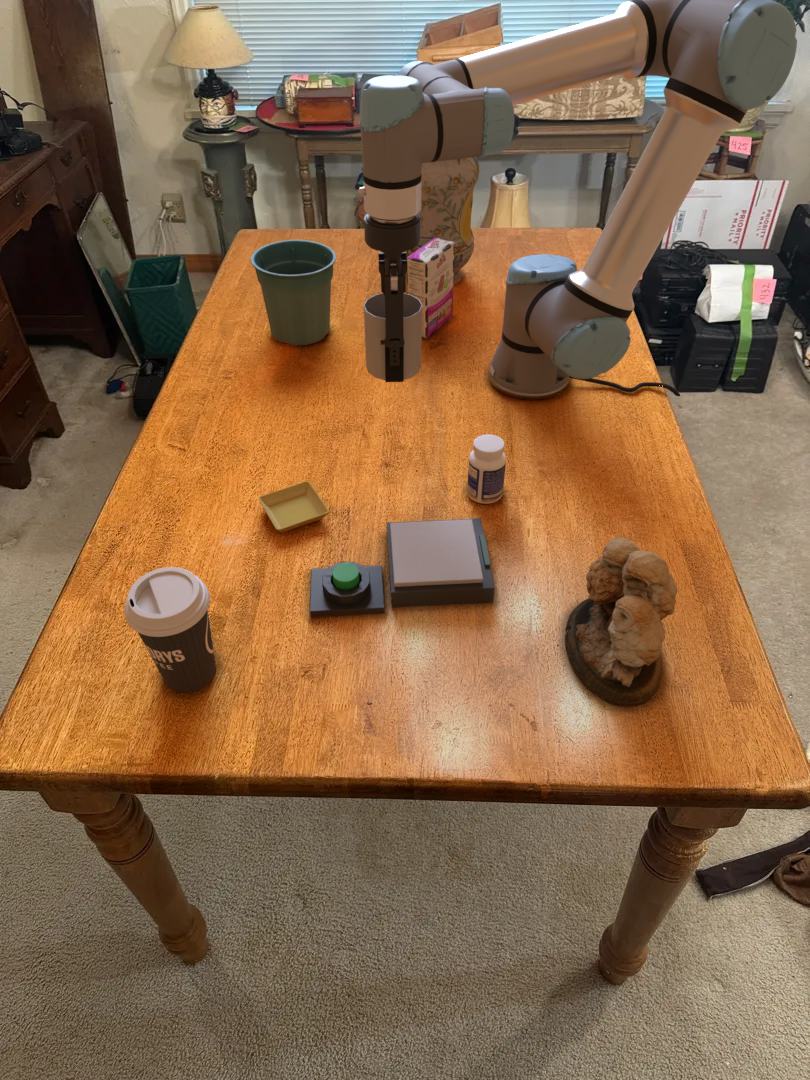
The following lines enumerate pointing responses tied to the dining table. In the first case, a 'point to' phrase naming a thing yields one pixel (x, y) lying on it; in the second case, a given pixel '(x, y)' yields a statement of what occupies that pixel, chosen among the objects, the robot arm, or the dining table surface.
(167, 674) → the coffee cup
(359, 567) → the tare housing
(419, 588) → the scale
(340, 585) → the button
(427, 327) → the candy bar box
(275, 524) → the olive yellow tray
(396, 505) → the dining table surface
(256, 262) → the flower pot
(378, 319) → the cup
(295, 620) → the dining table surface
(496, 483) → the pill bottle
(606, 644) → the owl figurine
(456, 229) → the vase
